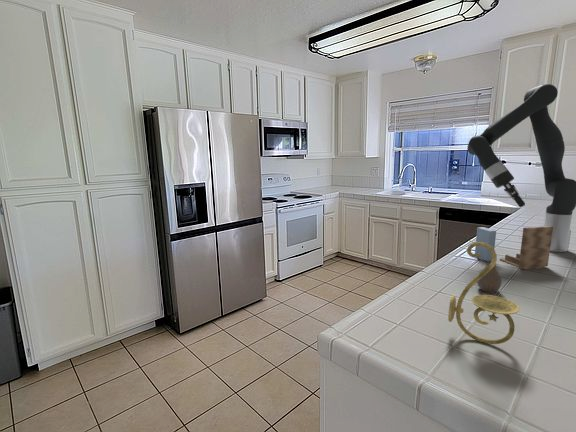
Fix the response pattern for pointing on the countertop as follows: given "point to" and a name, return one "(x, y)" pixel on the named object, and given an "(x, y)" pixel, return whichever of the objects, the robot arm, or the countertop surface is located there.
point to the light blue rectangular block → (485, 237)
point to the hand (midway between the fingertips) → (522, 205)
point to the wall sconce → (484, 302)
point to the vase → (490, 281)
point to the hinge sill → (533, 248)
